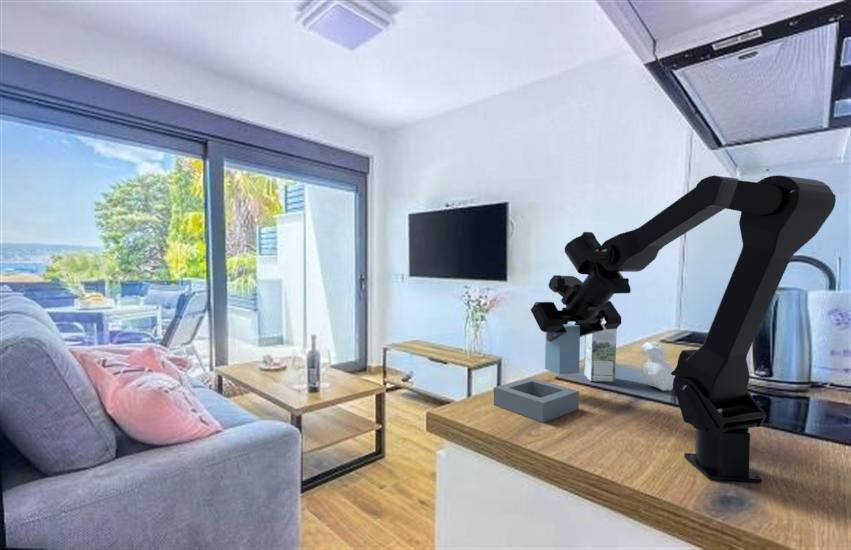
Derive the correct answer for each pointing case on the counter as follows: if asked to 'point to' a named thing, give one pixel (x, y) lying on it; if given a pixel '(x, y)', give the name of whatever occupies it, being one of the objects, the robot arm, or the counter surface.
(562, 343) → the peg block
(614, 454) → the counter surface
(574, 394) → the box
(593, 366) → the syrup box
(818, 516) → the counter surface
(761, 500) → the counter surface
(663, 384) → the duck figurine
